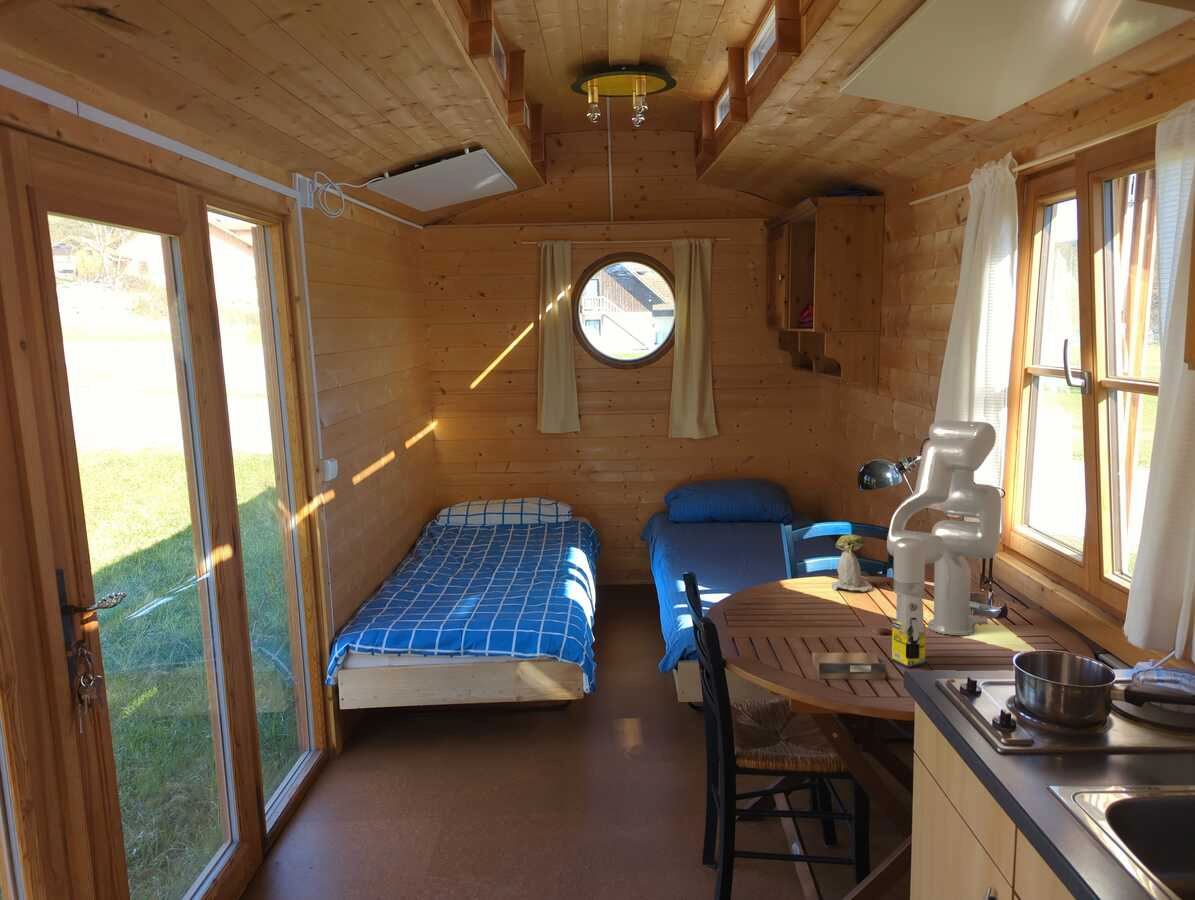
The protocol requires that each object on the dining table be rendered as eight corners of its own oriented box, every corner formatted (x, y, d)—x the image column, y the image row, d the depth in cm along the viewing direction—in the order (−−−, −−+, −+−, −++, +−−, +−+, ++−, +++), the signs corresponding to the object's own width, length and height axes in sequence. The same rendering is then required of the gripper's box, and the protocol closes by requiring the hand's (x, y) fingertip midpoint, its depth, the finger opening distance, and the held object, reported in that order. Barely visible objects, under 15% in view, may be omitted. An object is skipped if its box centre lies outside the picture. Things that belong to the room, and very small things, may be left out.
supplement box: (907, 668, 221) (907, 627, 220) (891, 661, 227) (891, 620, 225) (925, 664, 224) (926, 623, 222) (909, 656, 229) (909, 617, 227)
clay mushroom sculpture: (868, 595, 282) (868, 540, 279) (828, 591, 288) (828, 537, 285) (874, 585, 292) (874, 532, 290) (835, 581, 298) (835, 529, 296)
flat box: (873, 658, 229) (874, 643, 228) (885, 679, 215) (885, 664, 215) (812, 658, 231) (812, 643, 230) (819, 679, 217) (819, 663, 216)
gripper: (933, 596, 213) (932, 664, 216) (915, 576, 230) (915, 639, 233) (901, 597, 214) (901, 664, 217) (886, 576, 231) (886, 639, 234)
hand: (908, 651), depth 225 cm, fingers closed on supplement box, 8 cm apart
